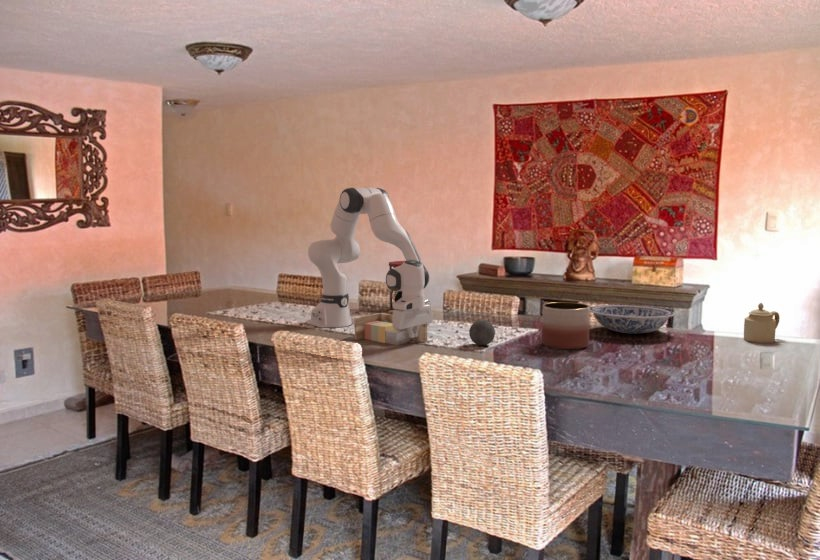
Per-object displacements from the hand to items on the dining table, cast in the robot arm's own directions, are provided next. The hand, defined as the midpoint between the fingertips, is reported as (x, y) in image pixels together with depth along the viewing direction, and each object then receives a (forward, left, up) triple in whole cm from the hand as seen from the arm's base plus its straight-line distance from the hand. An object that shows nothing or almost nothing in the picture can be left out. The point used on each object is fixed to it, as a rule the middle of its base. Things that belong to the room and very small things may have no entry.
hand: (413, 337), depth 258 cm
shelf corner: (-12, 0, -3) cm, 13 cm away
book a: (-21, 0, -3) cm, 21 cm away
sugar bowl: (+100, +96, -3) cm, 138 cm away
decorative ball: (+21, +17, -3) cm, 27 cm away
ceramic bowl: (+55, +76, -3) cm, 94 cm away
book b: (-17, 0, -3) cm, 18 cm away
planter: (+46, +37, -3) cm, 59 cm away
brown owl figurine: (-21, +20, -4) cm, 30 cm away
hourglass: (-56, +57, -3) cm, 80 cm away
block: (-8, 0, -3) cm, 9 cm away
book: (-13, 0, -3) cm, 14 cm away
